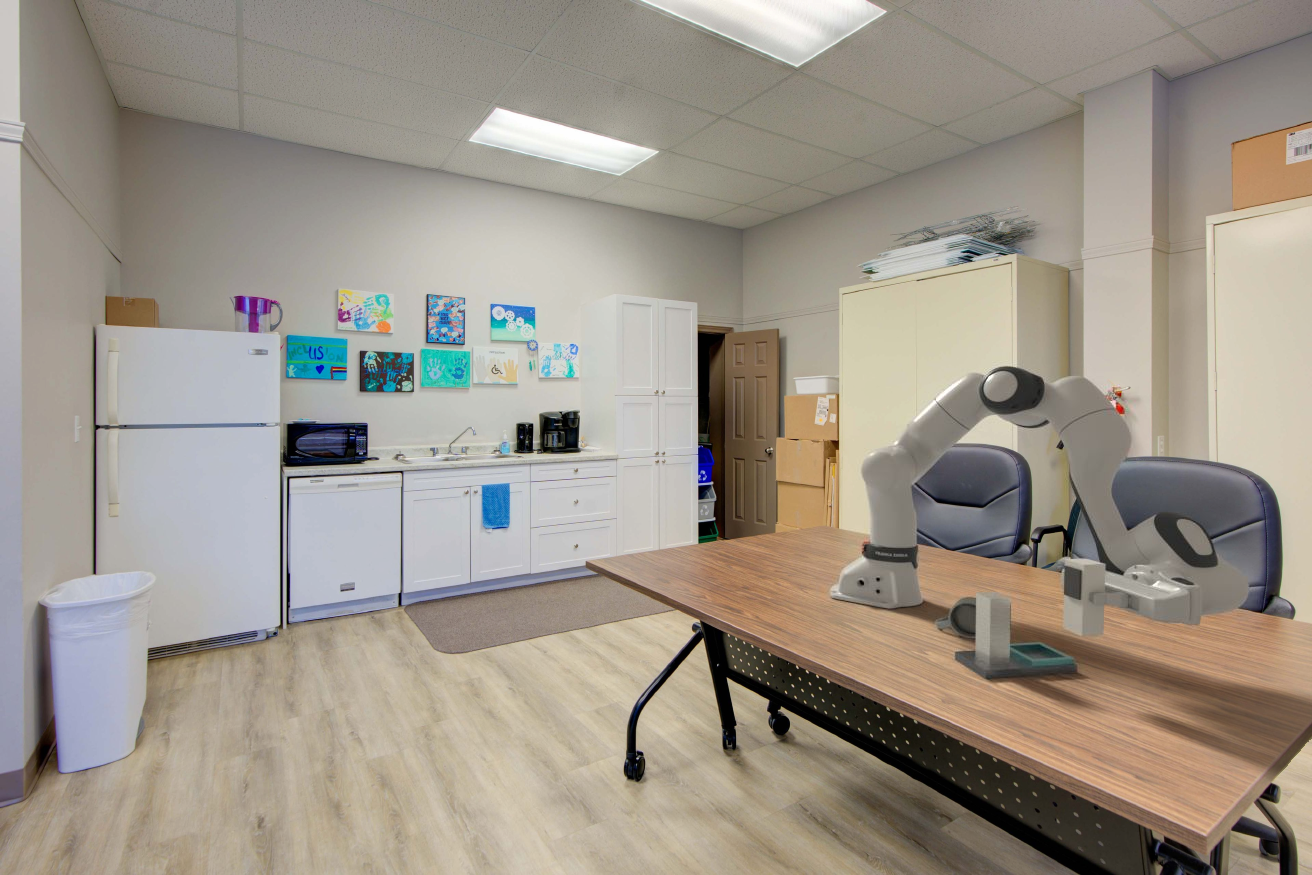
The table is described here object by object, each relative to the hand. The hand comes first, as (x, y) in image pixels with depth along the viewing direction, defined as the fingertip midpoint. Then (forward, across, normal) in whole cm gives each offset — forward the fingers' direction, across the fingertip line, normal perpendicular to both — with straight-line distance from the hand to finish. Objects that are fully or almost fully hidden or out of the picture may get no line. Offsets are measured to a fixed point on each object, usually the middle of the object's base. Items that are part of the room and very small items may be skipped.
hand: (1079, 593), depth 105 cm
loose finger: (-1, 0, +6) cm, 7 cm away
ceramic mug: (+1, -29, +17) cm, 34 cm away
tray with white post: (+3, -11, +17) cm, 20 cm away
